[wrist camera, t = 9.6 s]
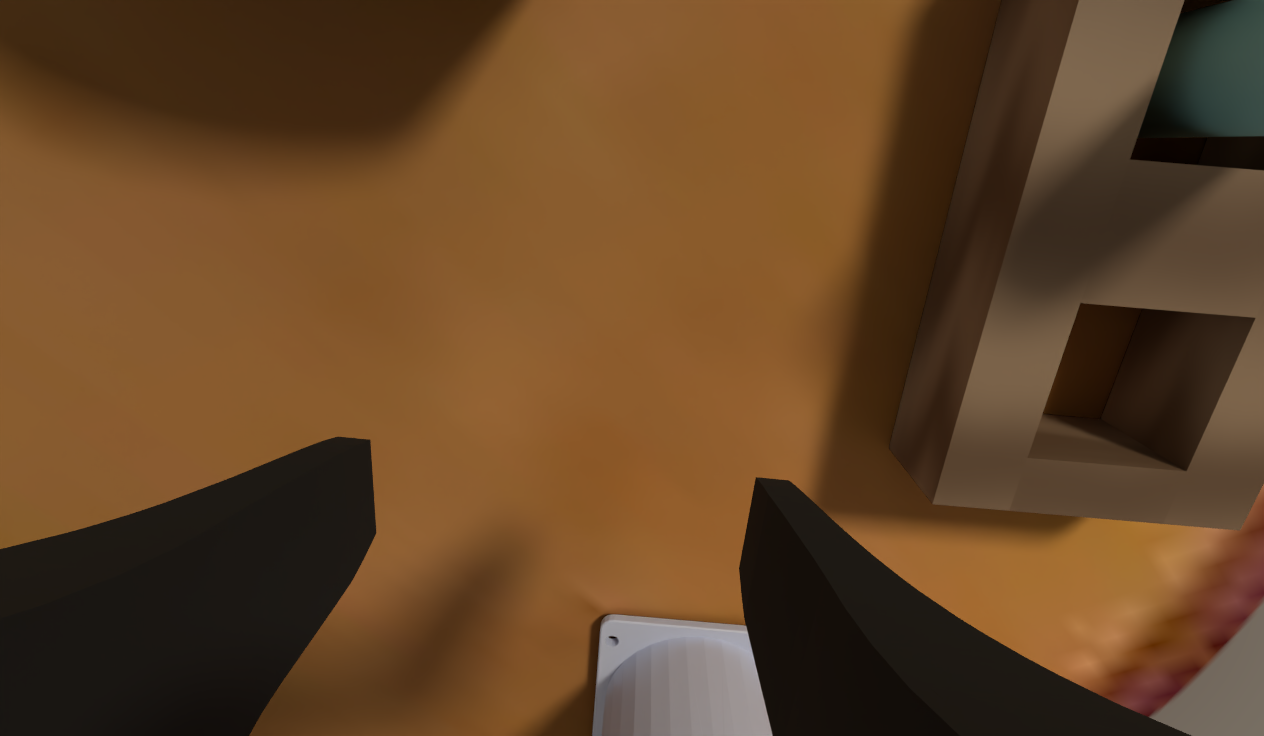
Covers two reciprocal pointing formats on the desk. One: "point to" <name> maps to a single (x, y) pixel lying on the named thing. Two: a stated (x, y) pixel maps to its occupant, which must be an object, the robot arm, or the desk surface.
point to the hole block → (1090, 289)
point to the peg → (1211, 75)
